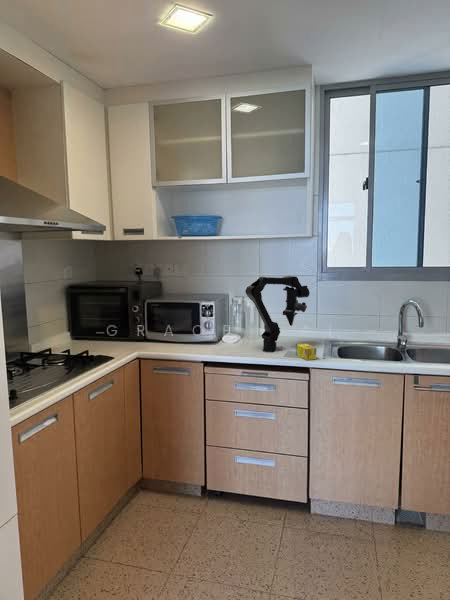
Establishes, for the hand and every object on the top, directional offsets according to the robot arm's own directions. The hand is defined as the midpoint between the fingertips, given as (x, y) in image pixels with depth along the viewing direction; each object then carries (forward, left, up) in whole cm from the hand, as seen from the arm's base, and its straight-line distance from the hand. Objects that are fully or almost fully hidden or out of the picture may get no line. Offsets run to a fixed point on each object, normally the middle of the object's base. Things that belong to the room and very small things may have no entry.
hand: (291, 325), depth 233 cm
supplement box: (+8, -14, -10) cm, 19 cm away
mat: (+6, -14, -13) cm, 20 cm away
